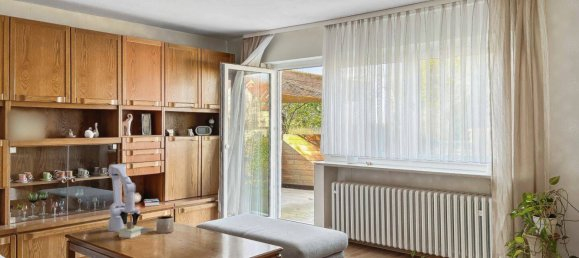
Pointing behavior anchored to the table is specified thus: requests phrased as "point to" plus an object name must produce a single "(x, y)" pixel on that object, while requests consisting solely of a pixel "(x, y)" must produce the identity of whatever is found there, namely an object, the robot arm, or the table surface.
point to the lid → (130, 227)
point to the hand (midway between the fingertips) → (129, 224)
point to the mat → (145, 230)
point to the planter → (164, 224)
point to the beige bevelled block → (129, 234)
